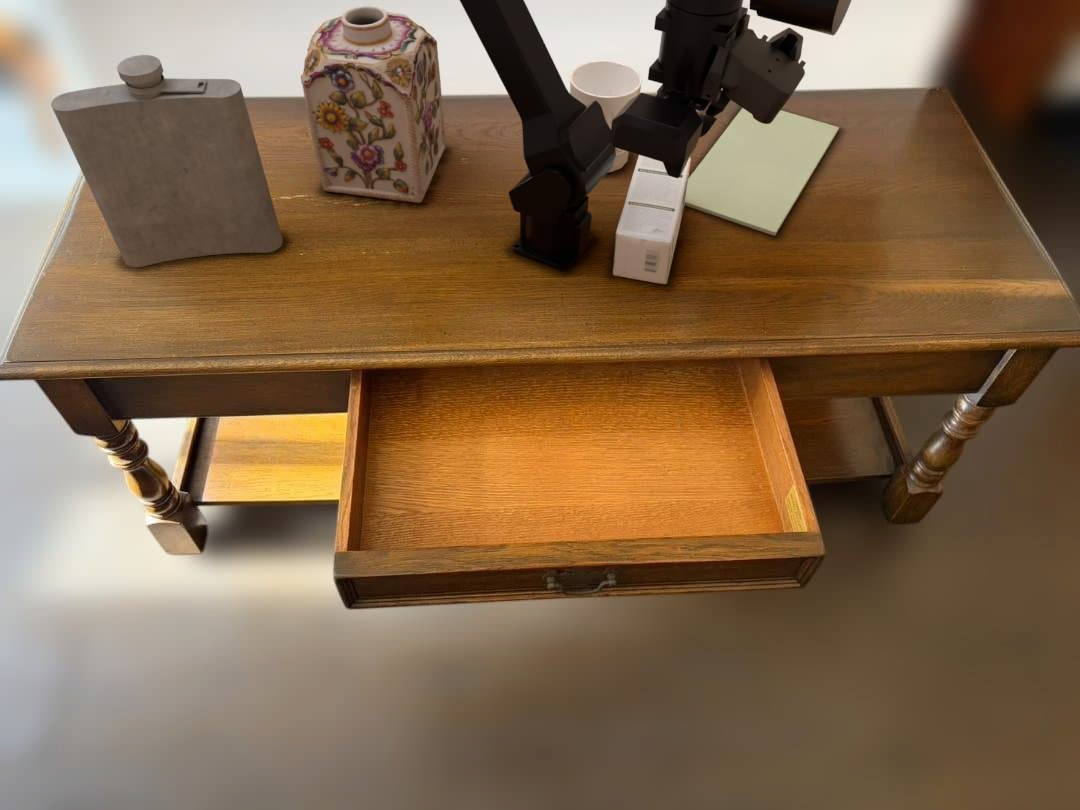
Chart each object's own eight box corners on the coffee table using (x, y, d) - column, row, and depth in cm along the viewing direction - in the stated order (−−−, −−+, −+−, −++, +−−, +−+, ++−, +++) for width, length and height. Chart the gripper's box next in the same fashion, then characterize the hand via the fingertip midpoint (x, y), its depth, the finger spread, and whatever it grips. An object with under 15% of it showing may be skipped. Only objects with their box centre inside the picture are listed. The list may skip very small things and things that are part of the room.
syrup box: (672, 242, 80) (695, 155, 89) (612, 232, 81) (640, 147, 90) (666, 286, 84) (688, 199, 93) (609, 276, 85) (636, 191, 94)
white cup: (614, 184, 95) (622, 104, 88) (554, 163, 98) (557, 84, 90) (643, 151, 100) (653, 72, 92) (585, 131, 102) (590, 53, 95)
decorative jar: (422, 206, 92) (405, 49, 78) (321, 194, 93) (286, 36, 79) (448, 146, 100) (436, -7, 86) (354, 135, 101) (328, -18, 87)
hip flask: (122, 269, 84) (34, 84, 69) (126, 244, 87) (43, 60, 72) (283, 251, 87) (232, 68, 71) (282, 227, 89) (234, 45, 74)
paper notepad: (672, 201, 94) (673, 197, 93) (747, 103, 107) (748, 100, 107) (774, 236, 90) (775, 232, 90) (838, 130, 104) (839, 127, 103)
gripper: (770, 82, 55) (724, 263, 67) (841, -25, 66) (791, 148, 78) (616, 41, 58) (599, 221, 70) (708, -54, 69) (680, 116, 81)
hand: (674, 175), depth 75 cm, fingers closed
